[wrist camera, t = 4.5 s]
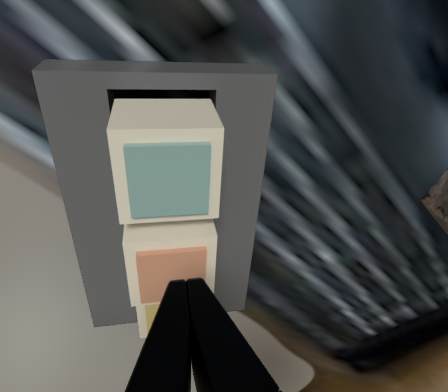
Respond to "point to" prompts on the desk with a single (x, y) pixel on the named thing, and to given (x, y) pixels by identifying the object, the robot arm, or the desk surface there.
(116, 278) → the keypad base
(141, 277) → the key
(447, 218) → the geological specimen
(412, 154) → the desk surface
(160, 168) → the key
